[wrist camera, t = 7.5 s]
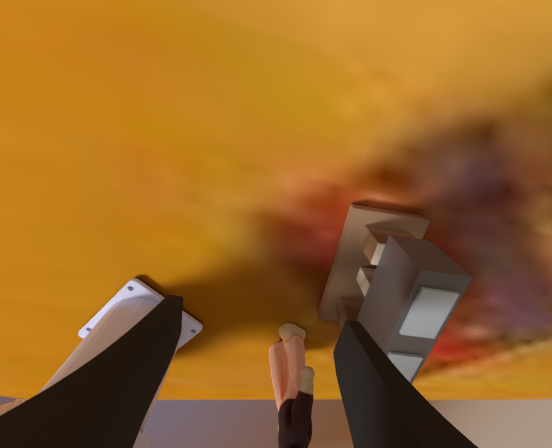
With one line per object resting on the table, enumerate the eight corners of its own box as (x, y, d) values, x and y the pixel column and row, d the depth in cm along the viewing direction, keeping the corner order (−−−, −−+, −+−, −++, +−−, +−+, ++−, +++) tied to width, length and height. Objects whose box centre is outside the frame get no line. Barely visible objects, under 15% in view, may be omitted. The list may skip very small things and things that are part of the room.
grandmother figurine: (270, 314, 25) (266, 497, 13) (311, 315, 25) (342, 499, 13) (267, 368, 28) (261, 555, 16) (302, 370, 28) (322, 556, 16)
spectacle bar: (380, 348, 21) (403, 402, 17) (346, 344, 21) (363, 398, 17) (430, 240, 17) (475, 279, 13) (389, 234, 17) (423, 272, 13)
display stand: (378, 319, 25) (396, 355, 21) (317, 311, 24) (325, 347, 21) (423, 215, 20) (455, 238, 17) (350, 203, 20) (367, 224, 16)
